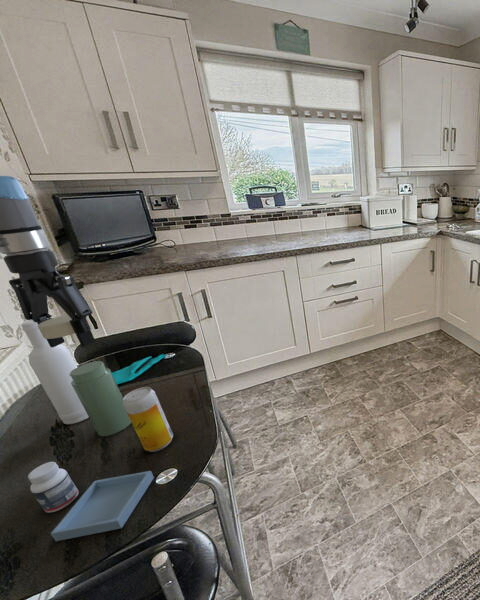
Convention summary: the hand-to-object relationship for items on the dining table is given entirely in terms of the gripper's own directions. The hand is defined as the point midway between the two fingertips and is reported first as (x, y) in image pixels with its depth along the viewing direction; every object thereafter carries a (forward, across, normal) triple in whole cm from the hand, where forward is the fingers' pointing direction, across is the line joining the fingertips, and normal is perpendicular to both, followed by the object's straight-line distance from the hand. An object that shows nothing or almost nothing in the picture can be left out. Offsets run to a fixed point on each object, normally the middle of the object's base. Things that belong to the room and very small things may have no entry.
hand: (73, 344), depth 79 cm
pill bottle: (+26, +9, -21) cm, 35 cm away
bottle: (+26, -16, +5) cm, 31 cm away
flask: (+26, 0, +1) cm, 26 cm away
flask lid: (-6, 0, 0) cm, 6 cm away
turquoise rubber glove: (+26, -21, +25) cm, 42 cm away
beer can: (+26, +18, -5) cm, 32 cm away
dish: (+26, +21, -22) cm, 40 cm away
